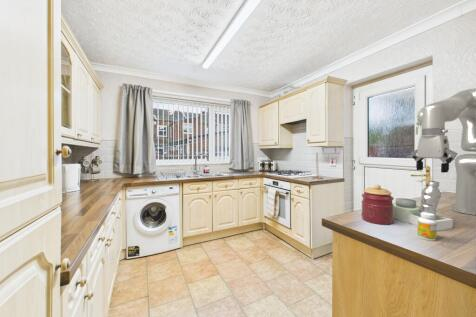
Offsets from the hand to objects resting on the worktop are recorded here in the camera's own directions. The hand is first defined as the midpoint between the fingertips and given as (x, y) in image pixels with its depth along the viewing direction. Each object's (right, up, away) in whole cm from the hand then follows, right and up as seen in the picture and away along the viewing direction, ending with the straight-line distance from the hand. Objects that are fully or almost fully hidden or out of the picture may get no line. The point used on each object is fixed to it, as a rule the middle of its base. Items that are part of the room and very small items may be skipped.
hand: (431, 171), depth 94 cm
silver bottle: (-1, -25, +2) cm, 25 cm away
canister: (-20, -25, +8) cm, 33 cm away
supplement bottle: (-13, -26, -12) cm, 31 cm away
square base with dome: (-2, -25, +6) cm, 25 cm away
